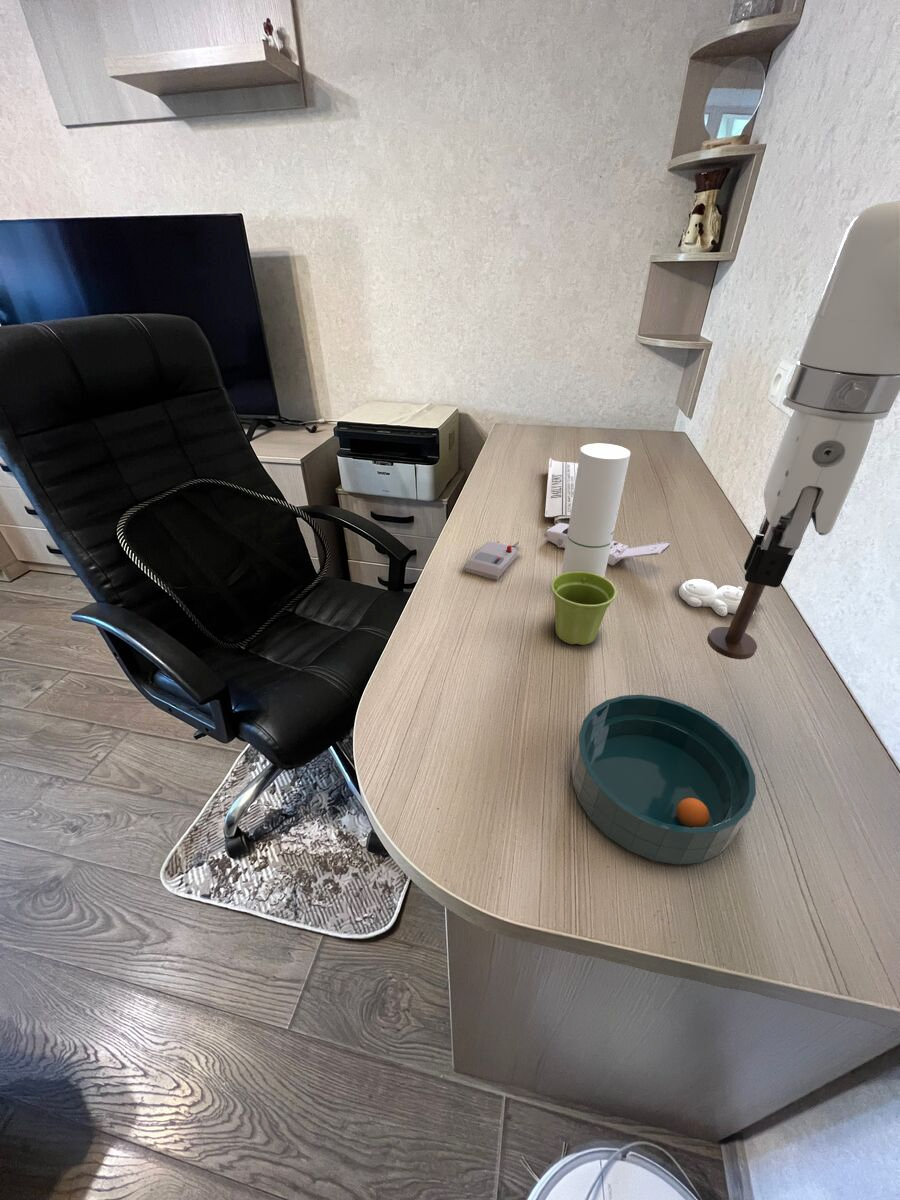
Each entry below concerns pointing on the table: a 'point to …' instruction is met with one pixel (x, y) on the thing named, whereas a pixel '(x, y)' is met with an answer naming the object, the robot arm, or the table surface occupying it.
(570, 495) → the newspaper
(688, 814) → the ball
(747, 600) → the stirring stick
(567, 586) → the plant pot
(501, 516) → the table surface
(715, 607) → the white toy figurine
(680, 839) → the bowl
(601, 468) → the cylindrical container
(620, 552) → the mobile phone
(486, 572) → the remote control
